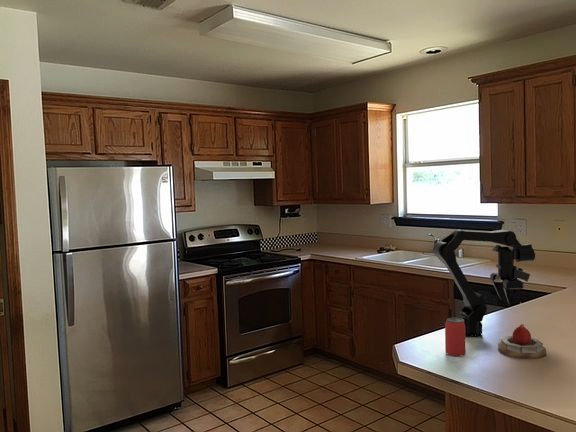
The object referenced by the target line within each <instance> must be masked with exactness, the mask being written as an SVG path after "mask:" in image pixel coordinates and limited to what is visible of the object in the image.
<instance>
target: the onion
mask: <svg viewBox="0 0 576 432" xmlns="http://www.w3.org/2000/svg"><path fill="white" fill-rule="evenodd" d="M511 336H512V337H513V340H514V341H515V343H516V344H518V345H521V346H525V345H527V344H528V343H529V342H530V341H531V338H532V334H531V332H530V331H529V329H528V328H526V327H525V325H524V324H523V323H521V324H520V325H519V326H517V327H516V328H514V330H513V332H512V335H511Z"/></svg>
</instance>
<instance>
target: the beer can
mask: <svg viewBox="0 0 576 432" xmlns="http://www.w3.org/2000/svg"><path fill="white" fill-rule="evenodd" d="M463 321H464V320H463V319H462V318H459V317H448V318H446V321H445V324H444V337H445V341H444V342H445V344H444V345H445V353H446V354H447V355H448V356H450V357H451V356H452V357H459V358H460V357H462V356H463V357H464V356H465V355H466V353H467V349H466V348H467V347H466V336H465V324H464V322H463Z"/></svg>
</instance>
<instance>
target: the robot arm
mask: <svg viewBox="0 0 576 432" xmlns="http://www.w3.org/2000/svg"><path fill="white" fill-rule="evenodd" d="M464 241H469V242H487V243H489V242H490V243H494V244H496V245H495V246H494V247H493V248H492V249H491V250H492V251H493V252H497V264H496V265H495V266H496V268H497V272H492V273H491V274H489V275H490V276H489V277H490V278H489V279H490V281H491V283H492V285H493V287H494V289H495V291H496V294H497V295H498V297H499V299H500V300H501V301H502V300H504V299H505V297H506V299H507V300H506V301H507V303H508V305H509V306H513V305H514V301H515V298H516V295H517V292H519V291H521V290H522V289H524V288H525V287H524V282H528V281H529V279H530V276H531V273H528V272H526V271H524V270H523V268H522V267H519V266H517V265H515V261H516V263H523V262H524V263H525V262H526V263H527V262H534V261H535V260H536V253H535V250H534V248H533V244H530V243H524V244H522V243H520V241H519V240H518V239H517V235H516V233H515V232H514V231H512V230H505V229H499V230H498V229H497V230H492V231H477V230H461V229H455V230H454V231H453V232H452V233H450V234H448V235H447V236H446V237H445V236H444V238H443V239H441V240H440V241H437V242H436V243H435V244H434V245H433V247H432V252H433V254H434V255H435V256H436V258H437V259H439V260H440V262H441V263H442V264H443V265H444V267H446V269H447V271H448V272H449V274H450V276H451V277H452V279H453V281H454V283H455V284H456V286H457V288H458V289H459V292H460V293H461V295H462V301H463V304H464V305H463V307H462V308H461V309H460V310H459V314H460V317H461V319H463V320H464V321H463V322H464V324H465V338H466V337H467V338H468V337H469V338H470V337H471V338H472V337H483V322H482V321H483V319H484V316H485V314H486V313H487V311H488V306H487V305H488V303H487V302H486V301H485V298H484V296H483V294H480V293H478V292H476V291H474V289H473V288H472V286H471V285H470V282H469V281H468V279H467V278H466V275H465V274H464V273H463V270H462V268H461V267H460V265H459V264H458V261H457V256H456V255H457V254H456V252H455V251H457V249H458V248H459V246H461V244H462V243H463V242H464ZM501 245H503V246H501ZM522 280H523V281H524V282H523V281H522Z"/></svg>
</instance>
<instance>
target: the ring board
mask: <svg viewBox="0 0 576 432" xmlns="http://www.w3.org/2000/svg"><path fill="white" fill-rule="evenodd" d="M497 350H498V352H499V353H501V354H503V355H505V356H508V357H512V358H517V359H526V360H533V359H536V360H537V359H541V358H544V357H546V356H547V349H546V347H545V346H544V343H543V342H542V341H541V340H539V339H537V338H534V337H531V341H530V342H529V343H528V344H527V345H525V346H521V345H518V344H516V343H515V341H514V340H513V337H512V335H508V336H505V337H503V338H501V339H500V342H499V343H498V344H497Z"/></svg>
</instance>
